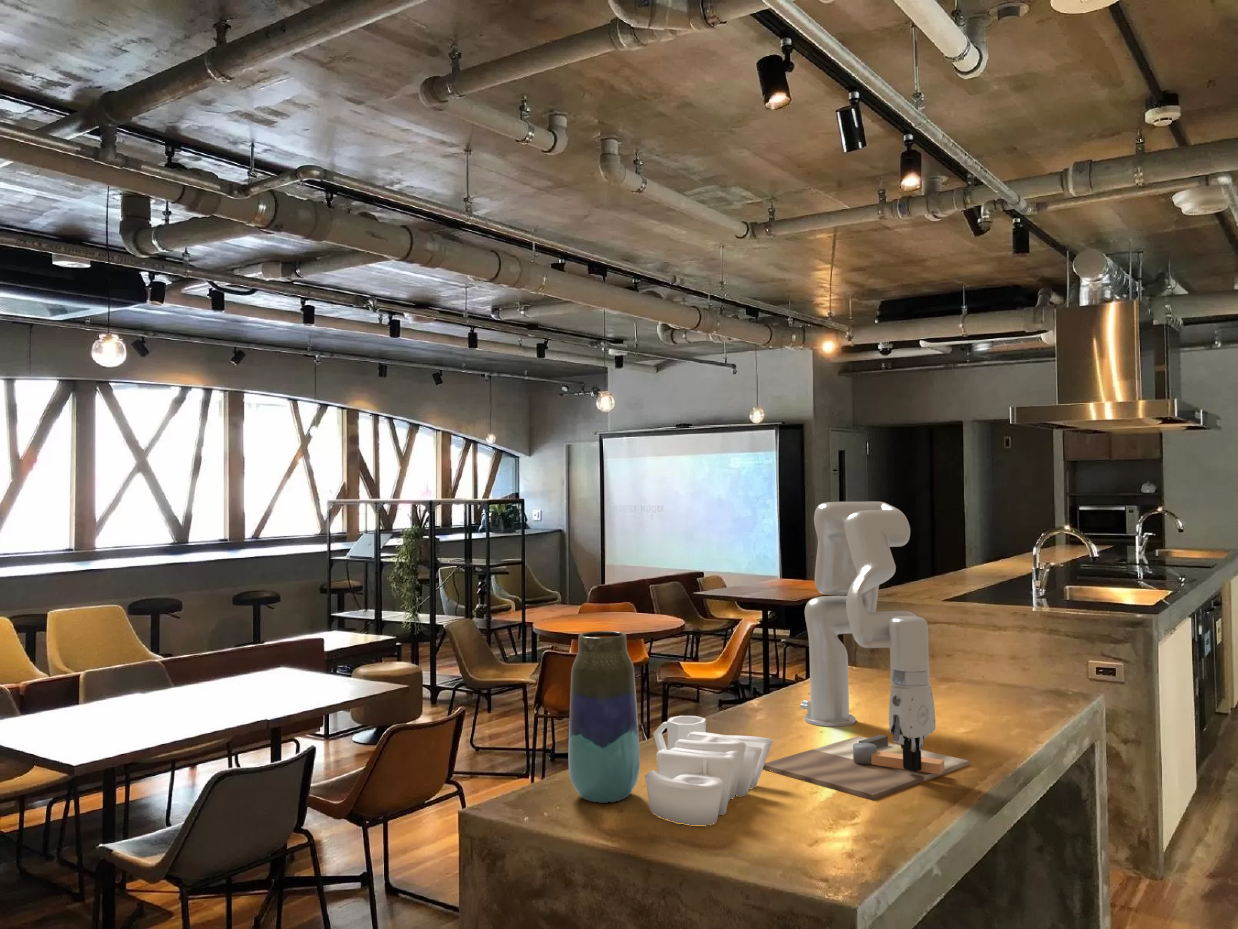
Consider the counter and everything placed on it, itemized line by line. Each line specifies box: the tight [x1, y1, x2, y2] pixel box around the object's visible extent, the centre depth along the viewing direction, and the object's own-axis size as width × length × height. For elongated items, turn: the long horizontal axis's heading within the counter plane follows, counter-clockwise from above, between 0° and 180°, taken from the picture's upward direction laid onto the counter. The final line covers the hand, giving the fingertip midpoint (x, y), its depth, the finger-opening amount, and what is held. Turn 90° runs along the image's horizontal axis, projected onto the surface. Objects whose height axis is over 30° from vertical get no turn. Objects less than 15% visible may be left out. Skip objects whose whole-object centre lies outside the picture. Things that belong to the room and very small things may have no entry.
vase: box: [567, 630, 641, 804], centre depth 184 cm, size 14×14×31 cm
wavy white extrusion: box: [644, 731, 774, 826], centre depth 180 cm, size 35×16×10 cm, turn 150°
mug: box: [653, 715, 707, 752], centre depth 204 cm, size 12×9×10 cm
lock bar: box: [853, 743, 945, 774], centre depth 196 cm, size 18×5×3 cm, turn 56°
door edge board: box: [762, 734, 970, 801], centre depth 200 cm, size 28×34×3 cm
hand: (912, 769), depth 191 cm, fingers closed
